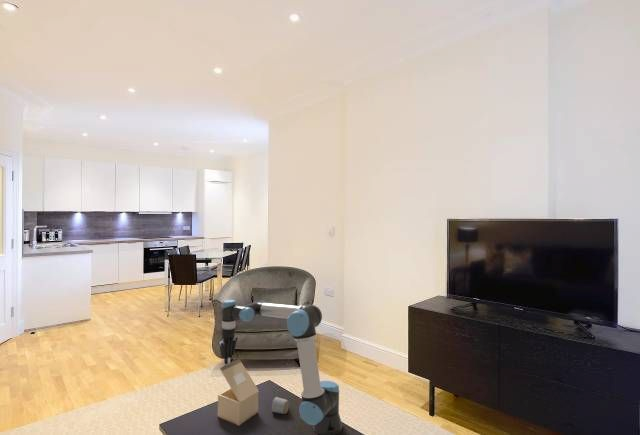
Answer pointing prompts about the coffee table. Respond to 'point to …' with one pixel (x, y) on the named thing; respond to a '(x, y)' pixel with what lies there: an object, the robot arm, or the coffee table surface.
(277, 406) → the ceramic mug
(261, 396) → the coffee table surface
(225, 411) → the carton
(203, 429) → the coffee table surface
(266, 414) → the coffee table surface
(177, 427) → the coffee table surface
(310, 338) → the robot arm
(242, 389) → the carton lid
